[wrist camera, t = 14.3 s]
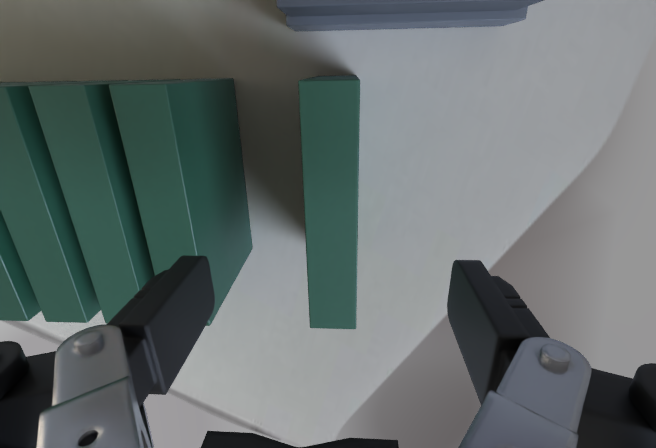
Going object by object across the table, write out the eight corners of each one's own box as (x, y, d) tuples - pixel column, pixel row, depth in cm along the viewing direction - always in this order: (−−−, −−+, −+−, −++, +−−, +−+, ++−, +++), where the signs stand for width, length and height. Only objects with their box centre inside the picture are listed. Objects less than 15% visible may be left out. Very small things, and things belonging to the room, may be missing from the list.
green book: (356, 75, 22) (360, 79, 14) (354, 249, 27) (356, 329, 18) (317, 76, 22) (297, 80, 14) (322, 248, 27) (309, 328, 19)
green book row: (233, 78, 22) (165, 83, 14) (252, 248, 27) (210, 326, 19) (-102, 84, 24) (-341, 92, 16) (-28, 245, 29) (-182, 316, 20)
